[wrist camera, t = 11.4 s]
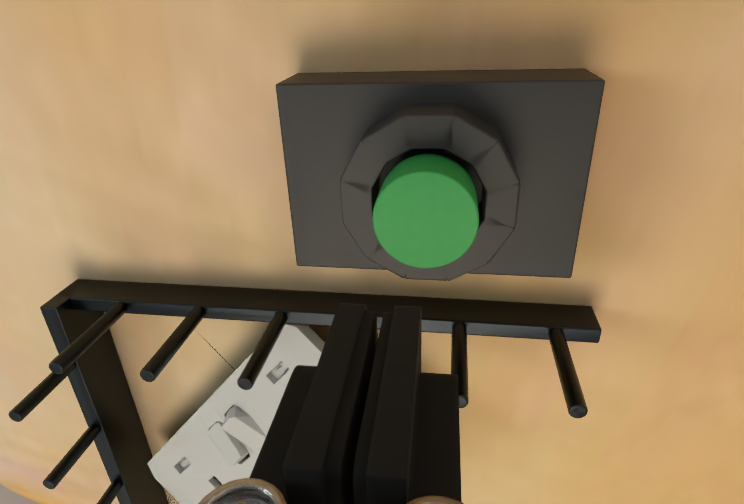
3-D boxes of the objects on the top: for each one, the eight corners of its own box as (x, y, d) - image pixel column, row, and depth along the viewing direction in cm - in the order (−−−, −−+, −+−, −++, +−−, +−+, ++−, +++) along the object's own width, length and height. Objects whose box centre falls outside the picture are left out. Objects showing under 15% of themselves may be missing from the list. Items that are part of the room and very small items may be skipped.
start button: (480, 153, 18) (482, 171, 16) (474, 245, 19) (475, 271, 17) (378, 152, 18) (370, 170, 16) (381, 241, 20) (373, 266, 18)
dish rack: (591, 305, 25) (636, 409, 19) (536, 583, 36) (552, 706, 29) (77, 278, 29) (-26, 355, 23) (167, 533, 40) (114, 631, 34)
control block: (586, 68, 20) (622, 89, 16) (558, 246, 24) (581, 304, 19) (297, 72, 22) (256, 93, 17) (313, 238, 25) (283, 289, 21)
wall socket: (305, 553, 36) (282, 607, 32) (134, 432, 36) (92, 472, 33) (450, 390, 28) (441, 437, 25) (231, 239, 29) (191, 264, 25)
